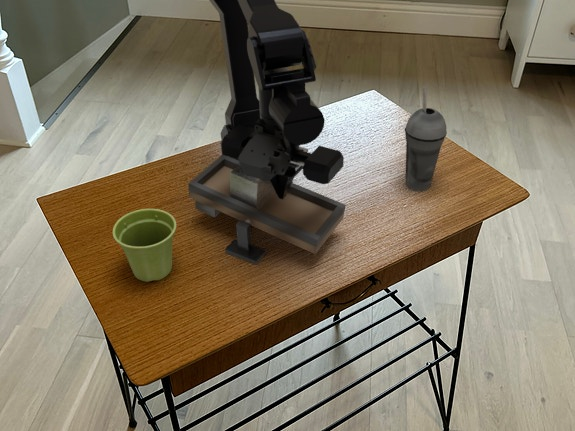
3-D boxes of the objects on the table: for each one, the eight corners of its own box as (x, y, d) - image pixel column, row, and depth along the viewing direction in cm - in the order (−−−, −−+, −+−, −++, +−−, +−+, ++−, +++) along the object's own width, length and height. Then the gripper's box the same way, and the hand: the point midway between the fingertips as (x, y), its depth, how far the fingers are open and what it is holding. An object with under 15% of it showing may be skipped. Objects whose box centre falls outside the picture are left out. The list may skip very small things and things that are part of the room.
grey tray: (186, 213, 103) (185, 185, 99) (225, 178, 111) (225, 152, 107) (311, 270, 95) (315, 243, 91) (342, 229, 103) (347, 202, 99)
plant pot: (149, 242, 102) (141, 201, 96) (194, 261, 98) (188, 219, 93) (110, 276, 96) (99, 234, 90) (156, 298, 92) (148, 255, 86)
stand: (225, 252, 99) (222, 223, 96) (276, 199, 111) (275, 171, 107) (256, 264, 97) (254, 235, 93) (305, 208, 108) (305, 180, 104)
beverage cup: (437, 197, 110) (454, 98, 98) (396, 193, 112) (409, 95, 99) (437, 175, 116) (454, 78, 104) (399, 171, 117) (411, 75, 105)
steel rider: (229, 201, 99) (230, 172, 95) (251, 181, 104) (252, 152, 100) (255, 212, 98) (257, 183, 94) (276, 191, 102) (278, 162, 98)
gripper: (194, 120, 86) (205, 208, 96) (310, 152, 79) (310, 244, 88) (236, 89, 94) (243, 173, 103) (346, 115, 86) (343, 203, 96)
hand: (282, 197), depth 98 cm, fingers closed
